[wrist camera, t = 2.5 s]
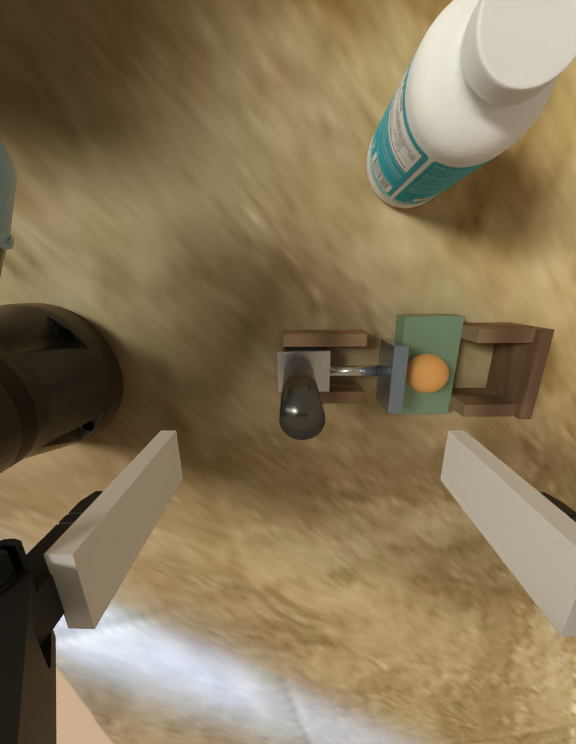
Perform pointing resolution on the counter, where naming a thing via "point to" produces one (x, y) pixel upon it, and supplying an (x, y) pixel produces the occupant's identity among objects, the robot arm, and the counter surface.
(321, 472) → the counter surface
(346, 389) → the guide
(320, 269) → the counter surface
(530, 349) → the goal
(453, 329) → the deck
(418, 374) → the ball
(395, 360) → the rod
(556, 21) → the pill bottle
